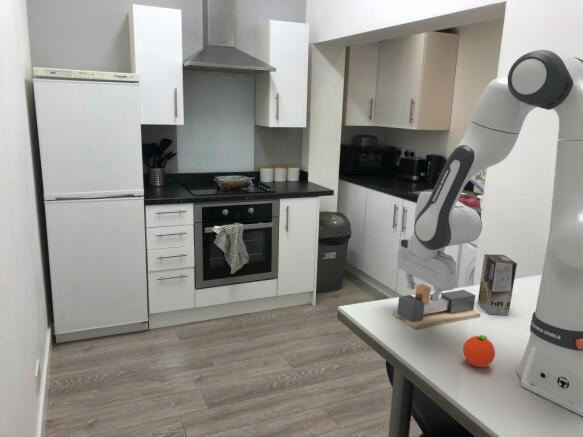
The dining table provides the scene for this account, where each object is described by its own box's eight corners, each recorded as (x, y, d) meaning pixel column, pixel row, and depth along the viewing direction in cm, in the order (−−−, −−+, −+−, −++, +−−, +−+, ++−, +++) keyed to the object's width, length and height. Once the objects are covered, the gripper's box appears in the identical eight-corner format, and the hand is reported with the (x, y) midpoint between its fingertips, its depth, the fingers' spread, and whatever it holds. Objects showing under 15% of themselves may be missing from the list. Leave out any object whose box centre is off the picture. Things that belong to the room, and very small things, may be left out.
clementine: (468, 353, 116) (472, 326, 114) (498, 363, 112) (502, 335, 110) (456, 365, 110) (460, 336, 108) (487, 376, 106) (491, 347, 104)
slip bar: (452, 309, 137) (456, 283, 136) (411, 316, 131) (414, 289, 129) (445, 305, 140) (448, 280, 138) (404, 312, 133) (407, 286, 132)
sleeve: (473, 309, 140) (475, 295, 139) (450, 313, 136) (452, 298, 135) (461, 303, 144) (463, 289, 143) (439, 307, 140) (441, 293, 139)
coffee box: (509, 315, 140) (518, 263, 136) (487, 314, 140) (495, 262, 137) (497, 303, 149) (504, 254, 145) (476, 302, 149) (483, 253, 145)
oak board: (480, 316, 138) (480, 313, 138) (415, 328, 128) (416, 325, 127) (454, 303, 147) (455, 300, 147) (392, 314, 136) (392, 311, 136)
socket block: (422, 320, 131) (424, 302, 130) (411, 322, 129) (413, 304, 128) (408, 311, 136) (410, 294, 135) (397, 313, 134) (399, 296, 133)
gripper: (465, 256, 122) (458, 307, 125) (412, 236, 140) (407, 281, 143) (446, 259, 119) (440, 310, 122) (395, 238, 137) (390, 283, 140)
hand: (422, 294), depth 133 cm, fingers open, 8 cm apart
